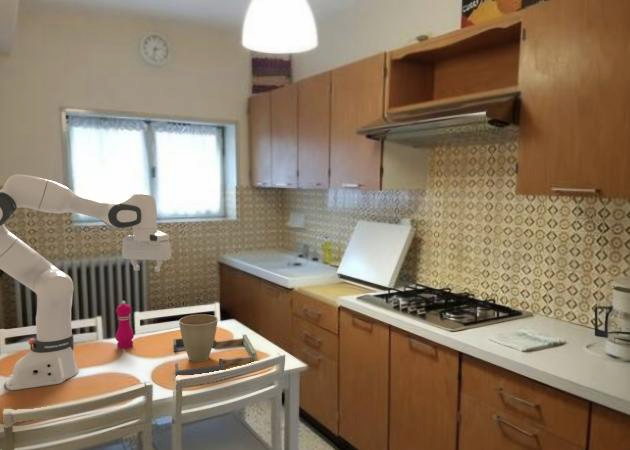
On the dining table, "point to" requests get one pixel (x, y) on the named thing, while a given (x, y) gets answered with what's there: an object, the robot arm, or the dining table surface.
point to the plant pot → (198, 335)
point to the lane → (235, 342)
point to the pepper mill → (124, 327)
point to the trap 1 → (180, 345)
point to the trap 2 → (199, 369)
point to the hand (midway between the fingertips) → (147, 271)
